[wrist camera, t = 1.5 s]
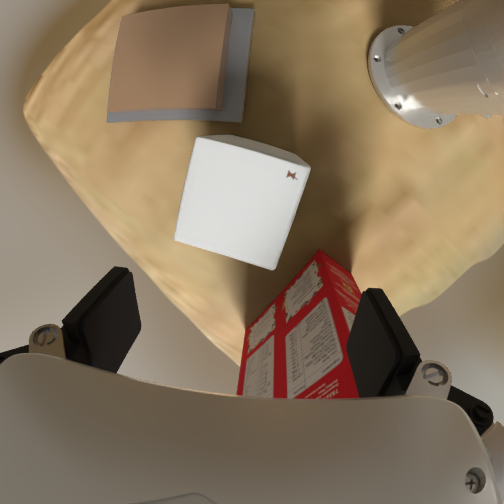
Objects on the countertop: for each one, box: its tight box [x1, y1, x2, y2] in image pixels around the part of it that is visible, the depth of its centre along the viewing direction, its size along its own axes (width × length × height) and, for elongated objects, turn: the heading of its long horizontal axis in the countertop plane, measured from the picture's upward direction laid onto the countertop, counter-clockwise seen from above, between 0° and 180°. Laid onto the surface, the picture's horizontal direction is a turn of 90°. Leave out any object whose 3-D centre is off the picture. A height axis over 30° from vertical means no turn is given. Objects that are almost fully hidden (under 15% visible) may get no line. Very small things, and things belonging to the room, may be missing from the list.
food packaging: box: [237, 249, 362, 399], centre depth 23 cm, size 15×5×25 cm, turn 145°
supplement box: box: [174, 135, 311, 270], centre depth 23 cm, size 7×7×13 cm
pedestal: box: [107, 4, 255, 123], centre depth 22 cm, size 15×13×4 cm
